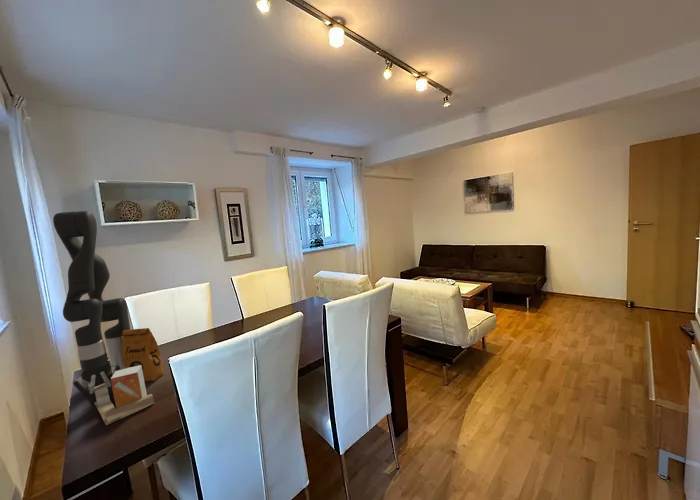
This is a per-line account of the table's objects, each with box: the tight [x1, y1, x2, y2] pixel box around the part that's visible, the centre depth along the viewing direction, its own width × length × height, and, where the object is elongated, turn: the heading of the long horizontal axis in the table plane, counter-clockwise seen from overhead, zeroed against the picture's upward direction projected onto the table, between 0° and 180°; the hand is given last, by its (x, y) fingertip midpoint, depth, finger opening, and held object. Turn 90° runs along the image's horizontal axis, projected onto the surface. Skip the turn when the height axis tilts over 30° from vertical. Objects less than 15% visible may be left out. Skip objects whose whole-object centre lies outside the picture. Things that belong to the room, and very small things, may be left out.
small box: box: [110, 365, 148, 409], centre depth 111 cm, size 8×6×13 cm
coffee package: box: [121, 327, 165, 383], centre depth 129 cm, size 10×12×22 cm
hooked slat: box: [94, 382, 155, 426], centre depth 116 cm, size 30×14×7 cm, turn 48°
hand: (102, 398), depth 113 cm, fingers closed on hooked slat, 3 cm apart
